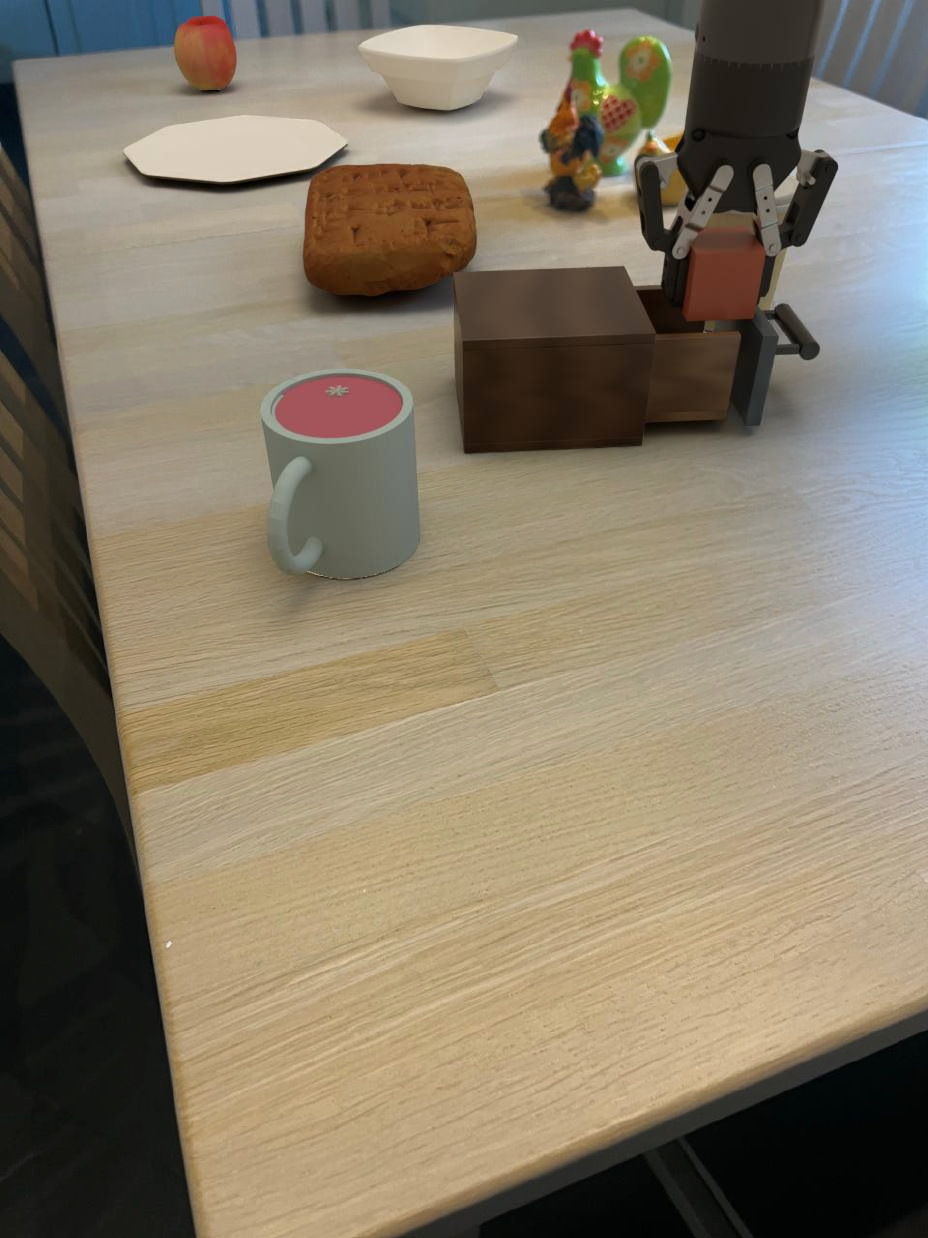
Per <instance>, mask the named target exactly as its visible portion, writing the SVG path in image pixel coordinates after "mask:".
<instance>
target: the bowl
mask: <svg viewBox="0 0 928 1238" xmlns="http://www.w3.org/2000/svg"><path fill="white" fill-rule="evenodd" d="M518 42H519V36H518V35H517V34H513V33H510V32H506V31H499V30H491V29H485V28H479V27H478V28H477V27H467V26H459V25H458V26H457V25H443V24H418V25H414V26H408V27H403V28H399V29H394V30H391V31H387V32H384V33H380V34H378V35H375V36H373V37H370V38H368V39H366V40H364V41H362V42H361V43H360V44H359V45H358V47H357V50H358V52H359V54H360V56H361V57H362V59H363V60H364V61H365V63H366V64H367V66H368V68H369V69H370V71H371V72H372V73H375V74H377V75H381V77H382V78H383V80H384V81H385V84H386V85H387V86H388V88H389V89H390V91H391V92H392V94H393V95H394V97H395V98H396V100H397V102H398V103H400V104H402V105H407V106H410V107H414V108H420V109H429V110H437V111H438V110H439V111H452V110H458V109H461V108H464V107H467V106H469V105H473V104H474V103H476V102H477V101H479V100H480V99H481V98H482V97H483V96H484V94H485V93H486V90H487V88H488V87H489V84H490V83H491V81H492V79H493V77H494V75H495V73H496V72H497V71H500V70H501V69H503V68H504V67H505V66H507V63H508V61H509V59H510V57H511V56H512V54H513V52H514V50H515V48H516V46H517V44H518Z"/></svg>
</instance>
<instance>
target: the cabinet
mask: <svg viewBox="0 0 928 1238" xmlns="http://www.w3.org/2000/svg"><path fill="white" fill-rule="evenodd" d="M634 286H635V285H634V284H633V281H632V279H631V277H630V275H629V273H628V271H627V269H626V267H625V266H624V265H615V266H614V265H613V266H586V267H584V266H581V267H558V268H557V267H555V268H531V269H530V268H529V269H528V268H527V269H505V270H504V269H503V270H501V269H500V270H476V271H474V270H473V271H459V272H453V275H452V291H453V292H452V293H453V295H452V296H453V300H452V301H453V338H454V339H453V347H454V349H453V351H454V354H453V355H454V380H455V381H454V382H455V389H456V398H457V405H458V413H459V422H460V423H459V424H460V430H461V431H460V432H461V440H462V448H463V453H464V454H474V453H475V454H476V453H499V452H500V453H501V452H521V451H545V450H547V451H548V450H568V449H569V450H570V449H589V448H590V449H593V448H613V447H614V448H615V447H636V446H643V445H644V443H643V442H644V436H645V428H646V423H645V421H646V413H647V405H648V397H649V389H650V381H651V373H652V365H653V358H654V350H655V341H656V331H655V329H654V327H653V325H652V323H651V321H650V319H649V317H648V314H647V312H646V310H645V308H644V306H643V304H642V302H641V300H640V298H639V296H638V294H637V292H636V289H635V287H634Z"/></svg>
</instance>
